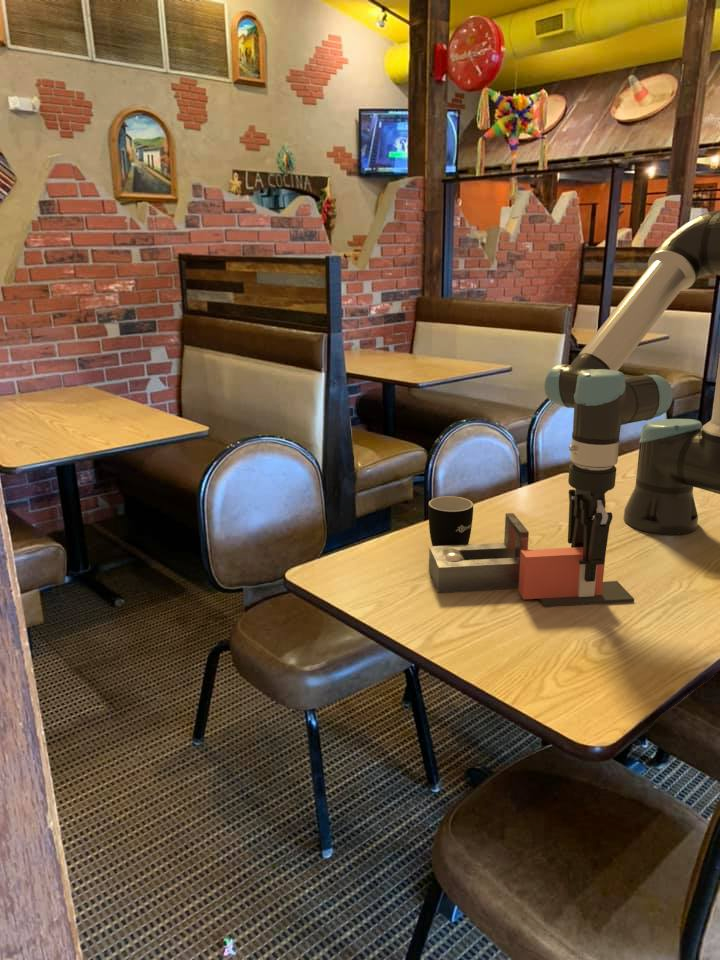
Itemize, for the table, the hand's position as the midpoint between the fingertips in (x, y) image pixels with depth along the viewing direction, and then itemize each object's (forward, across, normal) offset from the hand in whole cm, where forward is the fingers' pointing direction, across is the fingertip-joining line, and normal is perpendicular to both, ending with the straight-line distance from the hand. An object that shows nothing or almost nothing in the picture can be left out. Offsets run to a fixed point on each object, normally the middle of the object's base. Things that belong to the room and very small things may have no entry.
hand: (581, 590), depth 127 cm
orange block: (0, 0, -4) cm, 4 cm away
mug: (+1, -24, -18) cm, 30 cm away
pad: (+1, 0, 0) cm, 1 cm away
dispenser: (+1, -8, -16) cm, 18 cm away
